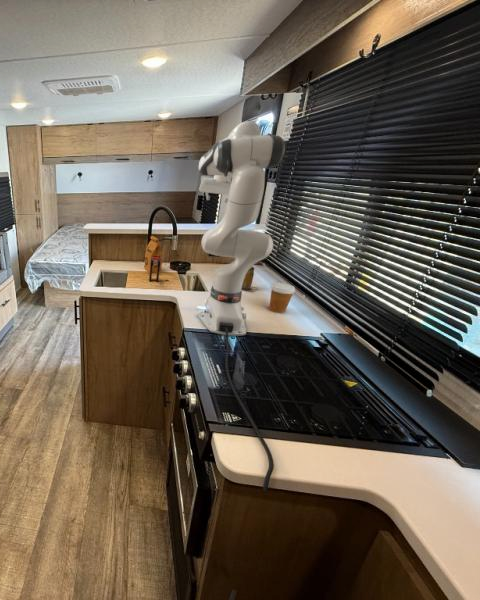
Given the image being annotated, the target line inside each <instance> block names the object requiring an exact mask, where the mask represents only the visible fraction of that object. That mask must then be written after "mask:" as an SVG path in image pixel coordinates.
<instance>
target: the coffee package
mask: <svg viewBox="0 0 480 600" xmlns="http://www.w3.org/2000/svg"><path fill="white" fill-rule="evenodd" d="M150 239H151V240H150V241H149V243H148V244H147V245H146V246H145V256H144V270H145V271H146V272H147V273H149V274H150V265H151V264H150V261H151V259H152V257H159V258H162V260H160V262H161V264H160V270H159V274H161V273H162V266H163V252H162V247H161V244H160V241H159V239H158V237H156V236H154V235H151V236H150ZM153 261H154V260H153ZM157 266H158V263H157ZM157 266H156V265H153V267H152V274H157Z"/></svg>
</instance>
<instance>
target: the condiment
mask: <svg viewBox="0 0 480 600" xmlns="http://www.w3.org/2000/svg"><path fill="white" fill-rule="evenodd" d="M254 275H255V267H254V266H252V267H251V268H250V269H249V270H248V271H247V273H246V275H245V278H244V281H243V284H242V288H241V290H243V291H247V292H254V291H256V290H257V288H256V287H254V286H253V287H252V284H253V280H254Z"/></svg>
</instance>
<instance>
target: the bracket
mask: <svg viewBox="0 0 480 600" xmlns="http://www.w3.org/2000/svg"><path fill="white" fill-rule="evenodd" d="M150 264H151V265H150V273H149V276H148V277H149V278H148V281H149V282H150V283H151V282H152V275H153V273H152V267H153V260H152V259H151V261H150ZM160 264H161V262H160V260H158V266H157V273H156V276H155V279H156V280H155V282H156V283H159V279H160V273H159V270H160Z"/></svg>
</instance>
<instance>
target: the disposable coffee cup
mask: <svg viewBox="0 0 480 600" xmlns="http://www.w3.org/2000/svg"><path fill="white" fill-rule="evenodd" d="M295 293H296V287H295V286H293V285H292V284H288V283H285V282H274V283H272V284H271V286H270V299H269V307H268V309H269V311H271V312H273V313H278V314H279V313H281V314H283V313H285V312H286V309H287V307H288V305H289V303H290V301H291V299H292V297H293V295H294V294H295Z"/></svg>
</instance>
